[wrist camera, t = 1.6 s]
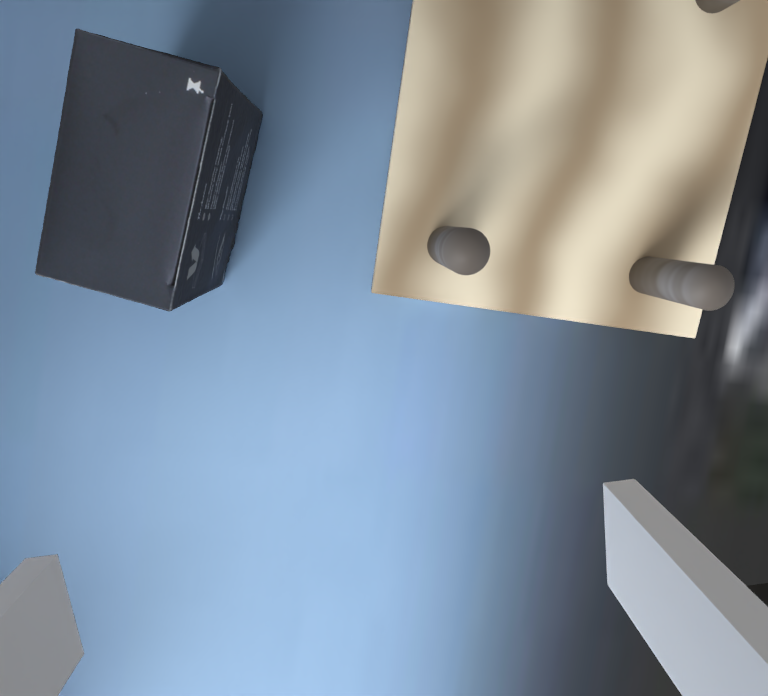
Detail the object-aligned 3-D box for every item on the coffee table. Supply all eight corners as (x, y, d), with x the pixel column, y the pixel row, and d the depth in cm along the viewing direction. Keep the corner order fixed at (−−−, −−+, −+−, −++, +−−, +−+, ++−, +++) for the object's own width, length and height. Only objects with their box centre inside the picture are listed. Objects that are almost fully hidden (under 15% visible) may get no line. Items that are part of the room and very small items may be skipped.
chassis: (371, 289, 33) (375, 309, 26) (430, -122, 29) (453, -232, 22) (683, 334, 34) (768, 364, 27) (781, -53, 30) (911, -136, 23)
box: (157, 80, 30) (69, 18, 21) (265, 112, 31) (227, 67, 22) (122, 259, 32) (27, 276, 23) (225, 287, 33) (173, 315, 23)
